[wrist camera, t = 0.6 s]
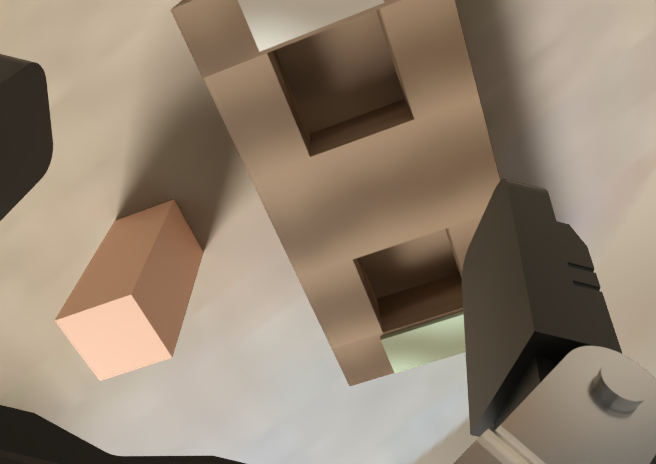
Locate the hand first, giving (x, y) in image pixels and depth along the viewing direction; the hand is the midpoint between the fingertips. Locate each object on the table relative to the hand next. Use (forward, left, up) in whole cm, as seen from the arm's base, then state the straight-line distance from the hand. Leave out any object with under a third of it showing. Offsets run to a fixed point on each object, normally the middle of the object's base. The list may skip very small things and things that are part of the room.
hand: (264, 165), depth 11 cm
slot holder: (+10, +1, -23) cm, 25 cm away
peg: (+10, -13, -23) cm, 28 cm away
